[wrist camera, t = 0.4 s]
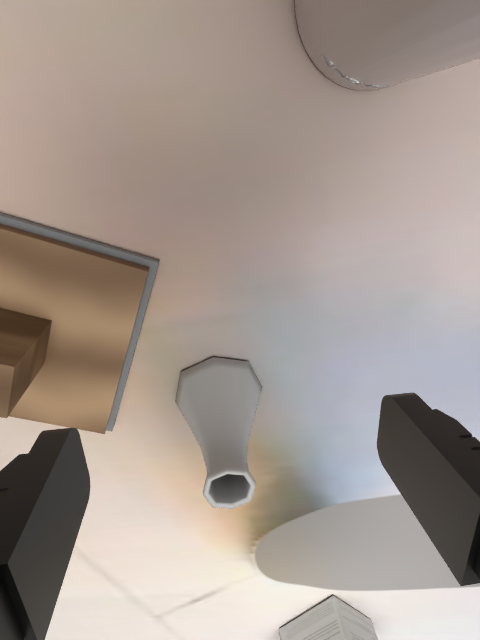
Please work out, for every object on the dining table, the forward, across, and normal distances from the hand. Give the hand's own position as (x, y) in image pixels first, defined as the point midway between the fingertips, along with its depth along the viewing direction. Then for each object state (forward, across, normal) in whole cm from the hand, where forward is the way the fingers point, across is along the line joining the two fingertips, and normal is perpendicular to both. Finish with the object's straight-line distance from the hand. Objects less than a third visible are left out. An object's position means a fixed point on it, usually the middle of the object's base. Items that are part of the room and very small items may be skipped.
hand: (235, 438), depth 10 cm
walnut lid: (+18, +13, +3) cm, 23 cm away
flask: (+19, 0, +11) cm, 22 cm away
